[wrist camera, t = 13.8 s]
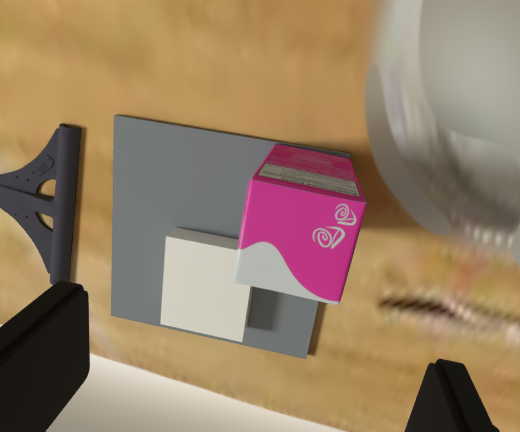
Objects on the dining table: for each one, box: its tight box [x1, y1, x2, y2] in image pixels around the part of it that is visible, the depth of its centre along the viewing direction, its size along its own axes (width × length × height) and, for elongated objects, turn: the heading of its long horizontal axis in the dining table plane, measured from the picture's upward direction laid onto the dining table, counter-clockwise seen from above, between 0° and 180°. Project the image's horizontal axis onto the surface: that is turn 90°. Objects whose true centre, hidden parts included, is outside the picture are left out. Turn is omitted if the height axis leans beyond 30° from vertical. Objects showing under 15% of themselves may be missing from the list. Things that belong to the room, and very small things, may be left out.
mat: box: [111, 115, 351, 359], centre depth 33 cm, size 18×18×1 cm
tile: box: [160, 227, 253, 342], centre depth 33 cm, size 2×7×8 cm
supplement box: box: [233, 144, 367, 305], centre depth 25 cm, size 6×6×12 cm
